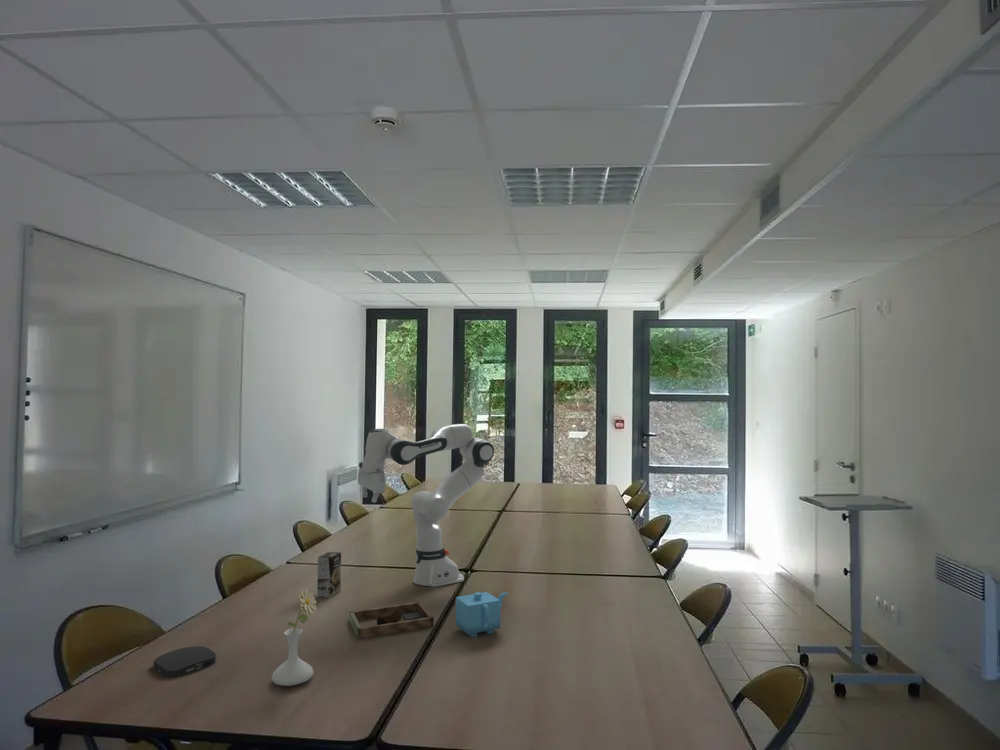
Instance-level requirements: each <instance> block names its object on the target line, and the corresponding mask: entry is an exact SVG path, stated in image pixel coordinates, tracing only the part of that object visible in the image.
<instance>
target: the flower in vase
mask: <svg viewBox="0 0 1000 750" xmlns="http://www.w3.org/2000/svg"><path fill="white" fill-rule="evenodd" d="M313 595H314V594H313V592H310V591H309V589H306V588H304V589H303V588H301V590H299V594H298V595H297V596H298V597H297V601H298V605H299V611H298V615H297V618H296V622H295V623H294V622H291V621H288V623H287V626H288V627H289V626H290V627H294V628H290V629H286V630H285V631H284V632H283V634H284V636H285V637H286V640H287V642H288V656H287V659H285V661H284V662H283V663H281V664H279V666H278V667H277V668H276V669H275V670H274V671H273V673H272V675H271V677H270V679H271V681H272V682H273V684H275V685H278V686H282V687H290V686H297V685H300V684H303V683H305V682H308V681H309V680H310V679H311V678H312V677H313V675H314V669H313V666H311V665H310V664H309V663H307V662H306V661H305V660H302V659H301V658H300V657H299V656H298V643H299V638H300V635H302V633H303V629H301V628H297V625H298V621H299V622H300V623H303V624H304V623H306V622H307V621H308V620H309V616H314V615H315V613H314V611H315V612H316V611H317V605H316V604H317V600H316V599H315V597H314V596H313ZM301 611H302V612H303V613H301Z"/></svg>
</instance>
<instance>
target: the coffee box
mask: <svg viewBox="0 0 1000 750" xmlns="http://www.w3.org/2000/svg"><path fill="white" fill-rule="evenodd" d="M316 581H317V584H316V585H317V586H316V587H317V589H316V594H317V595H316V597H318V596H323V597H322V598H329V597H330V598H332V597H333V595H334V594H335V595H337V594H338V593H339V591H340V590H341V591H342V586H341V585H342V583H341V582H342V552H338V551H337V552H332V551H331V552H330V551H329V552H326V553H324V554H322V555H320V556H318V557H317V580H316ZM341 591H340V592H341ZM337 592H338V593H337ZM336 593H337V594H336ZM335 595H334V596H335ZM325 596H326V597H325ZM331 596H332V597H331Z"/></svg>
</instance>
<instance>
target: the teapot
mask: <svg viewBox="0 0 1000 750" xmlns="http://www.w3.org/2000/svg"><path fill="white" fill-rule="evenodd" d="M508 593H509V592H502V593H500V594H499V596H498V597H495V596H494V595H492V594H491V593H489V592H487V591H484V592H474V593H472V594H467V595H466V594H465V595H460V596H456V597H455V625H456V626H457V627H459V629H461V630H462V631H463V632H464V633H466V635H468V636H469V637H470V638H477V637H478V633H485V632H486V633H485V634H487V635H492V634H494V633H495V632H494V630H498V629H501V609H502V605H503V600H504V598H505V596H507V595H508Z"/></svg>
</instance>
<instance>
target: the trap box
mask: <svg viewBox="0 0 1000 750" xmlns="http://www.w3.org/2000/svg"><path fill="white" fill-rule="evenodd" d="M392 606H394V607H400V608H401V614H402V613H409V612H416V611H417V612H418V613H419V615H420V616H421V617H422V618H421V619H415V620H408V621H405V620H402V621H401V620H400V621H398V622H395V623H388V624H382V625H377V624H375V625H370V626H363V627H362V626H361V625H360V623H359V621H360V620H361V621H362V620H367V619H375V618H378V617H379V615H380V614H381V613H383V612H384V611H386V610H387V609H389V608H391V607H392ZM348 619H349V623H350V624H351V627H352V629H353V630H354V632H355V634H356V637H357V639H363V638H370V637H377V636H382V635H388V634H395V633H401V632H407V631H408V632H409V631H414V630H415V631H416V630H421V629H426V628H427V629H428V628H433V627H434V624H435V623H434V622H435V621H434V617H433V615H432V614H431V613H430V612H429V611H428V610H427V609H426V607H424V605H423V604H422V603H421V602H420V601H417V602H416V601H415V602H410V603H409V602H408V603H403V604H395V605H388V606H380V607H374V608H367V609H360V610H359V609H358V610H353V611H349V618H348Z"/></svg>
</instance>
